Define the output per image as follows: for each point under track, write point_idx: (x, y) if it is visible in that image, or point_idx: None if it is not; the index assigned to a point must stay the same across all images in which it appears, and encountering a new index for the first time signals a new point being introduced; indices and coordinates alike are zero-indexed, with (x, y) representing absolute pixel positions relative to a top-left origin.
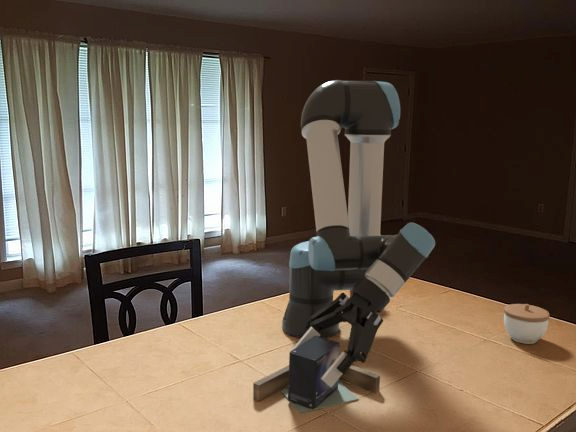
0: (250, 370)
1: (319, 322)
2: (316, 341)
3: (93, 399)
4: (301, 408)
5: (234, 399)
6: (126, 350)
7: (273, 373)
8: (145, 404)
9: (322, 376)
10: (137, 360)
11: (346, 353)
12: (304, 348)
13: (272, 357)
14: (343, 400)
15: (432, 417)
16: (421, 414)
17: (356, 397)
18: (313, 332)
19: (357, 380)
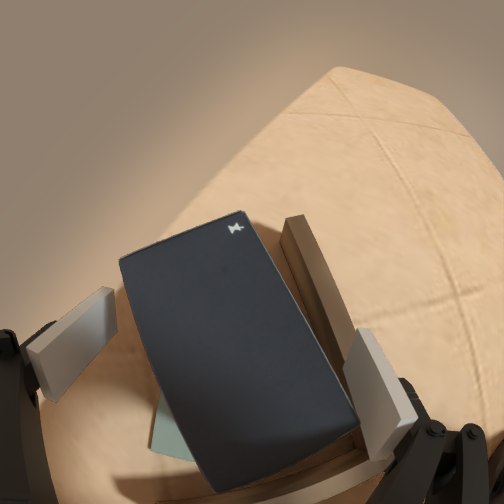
0: (417, 294)
1: (404, 462)
2: (282, 387)
3: (370, 103)
4: None
5: (311, 210)
6: (482, 172)
7: (331, 280)
8: (344, 124)
9: (109, 292)
10: (460, 167)
11: (9, 335)
12: (237, 281)
13: (453, 367)
14: (164, 415)
15: None
16: None
17: (158, 451)
18: (385, 423)
19: (212, 501)
